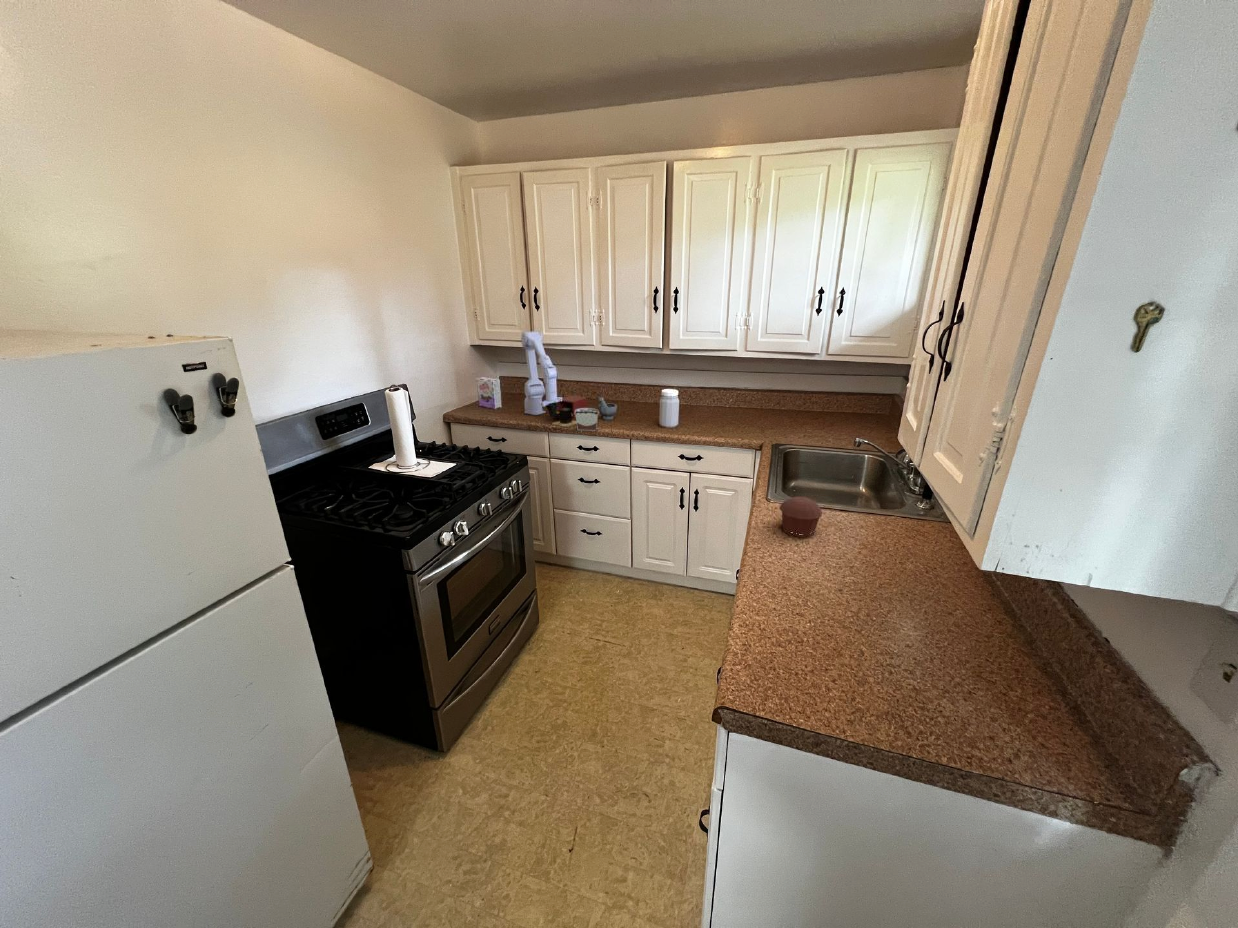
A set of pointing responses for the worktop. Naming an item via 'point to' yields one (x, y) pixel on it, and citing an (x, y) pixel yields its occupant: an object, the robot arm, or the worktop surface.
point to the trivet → (564, 424)
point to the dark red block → (573, 403)
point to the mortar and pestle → (607, 409)
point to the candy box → (489, 392)
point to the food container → (586, 418)
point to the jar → (669, 408)
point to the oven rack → (558, 415)
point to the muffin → (800, 516)
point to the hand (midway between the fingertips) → (552, 417)
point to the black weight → (565, 415)
